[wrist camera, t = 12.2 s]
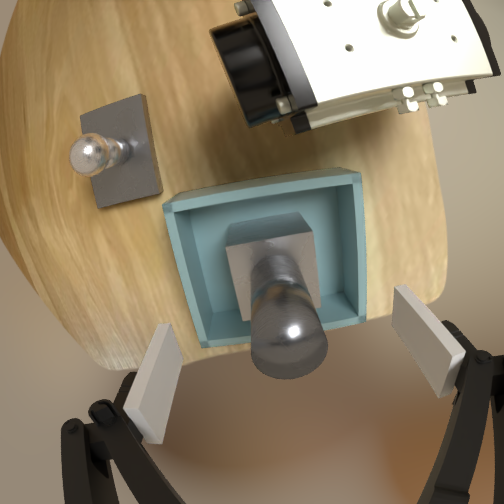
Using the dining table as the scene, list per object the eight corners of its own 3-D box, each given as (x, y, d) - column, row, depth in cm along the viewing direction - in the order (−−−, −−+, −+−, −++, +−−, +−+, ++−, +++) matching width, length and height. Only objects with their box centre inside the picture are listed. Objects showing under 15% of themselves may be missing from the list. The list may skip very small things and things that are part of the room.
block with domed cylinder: (243, 284, 31) (240, 401, 16) (230, 223, 29) (211, 309, 14) (306, 273, 31) (351, 381, 16) (298, 211, 29) (350, 284, 14)
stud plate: (86, 116, 26) (38, 112, 17) (145, 95, 25) (108, 79, 17) (104, 205, 29) (60, 227, 21) (163, 191, 29) (131, 209, 20)
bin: (178, 193, 29) (161, 204, 23) (339, 167, 28) (360, 172, 22) (208, 315, 33) (201, 348, 28) (348, 293, 33) (366, 321, 27)
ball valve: (254, 151, 27) (262, 157, 11) (223, 72, 25) (188, -20, 8) (414, 105, 26) (542, 93, 9) (386, 34, 23) (490, -30, 6)
